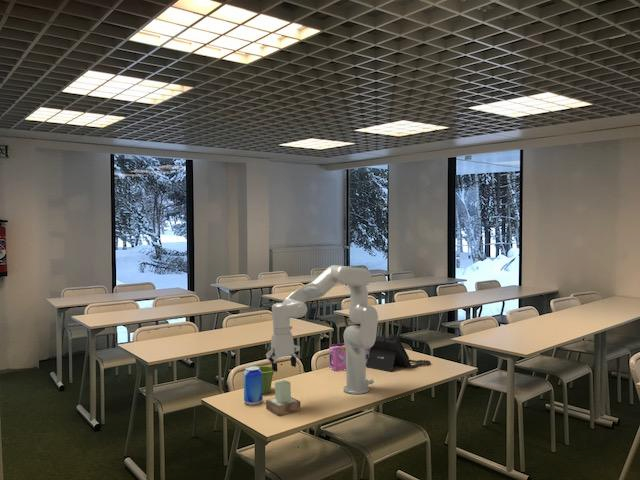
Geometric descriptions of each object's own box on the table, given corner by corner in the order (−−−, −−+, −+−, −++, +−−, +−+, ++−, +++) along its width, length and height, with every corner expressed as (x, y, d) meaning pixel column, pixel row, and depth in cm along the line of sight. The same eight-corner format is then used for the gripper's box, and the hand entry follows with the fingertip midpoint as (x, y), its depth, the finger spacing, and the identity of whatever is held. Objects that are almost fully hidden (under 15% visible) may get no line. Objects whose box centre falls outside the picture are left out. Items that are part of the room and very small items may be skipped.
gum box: (333, 372, 283) (332, 348, 283) (326, 369, 291) (326, 345, 290) (370, 366, 294) (369, 342, 293) (363, 363, 301) (362, 340, 301)
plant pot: (261, 397, 244) (261, 373, 244) (246, 392, 252) (245, 369, 252) (280, 391, 252) (279, 368, 252) (264, 386, 261) (264, 364, 260)
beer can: (247, 406, 231) (246, 371, 231) (242, 401, 239) (241, 367, 239) (264, 403, 235) (264, 369, 234) (259, 398, 242) (258, 364, 242)
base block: (287, 403, 234) (287, 394, 234) (300, 410, 225) (300, 401, 225) (266, 408, 228) (266, 399, 228) (278, 416, 219) (278, 406, 219)
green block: (285, 397, 230) (284, 380, 230) (290, 400, 226) (290, 382, 225) (275, 400, 227) (274, 382, 227) (281, 403, 223) (280, 384, 223)
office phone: (433, 363, 295) (433, 329, 295) (407, 375, 274) (406, 337, 273) (390, 356, 315) (390, 323, 314) (363, 366, 293) (362, 330, 293)
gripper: (293, 326, 236) (296, 362, 237) (260, 333, 226) (263, 371, 227) (302, 328, 230) (305, 366, 231) (269, 335, 220) (271, 375, 221)
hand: (284, 368), depth 229 cm, fingers open, 9 cm apart
